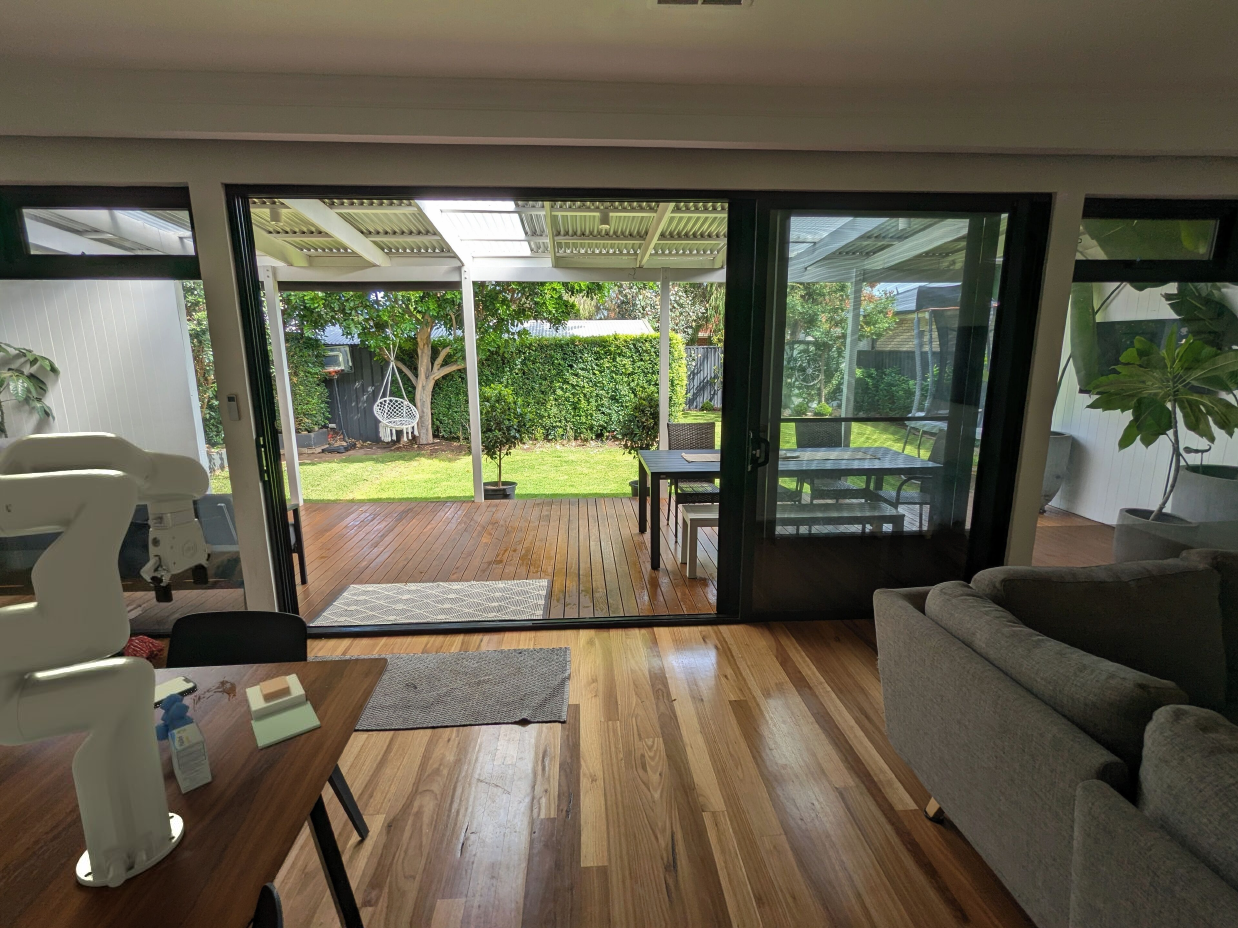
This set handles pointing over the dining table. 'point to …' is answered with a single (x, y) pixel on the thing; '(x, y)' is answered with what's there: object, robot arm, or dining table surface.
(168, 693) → the smartphone
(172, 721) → the grapes
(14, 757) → the dining table surface
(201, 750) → the medicine box
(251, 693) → the plate
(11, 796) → the dining table surface
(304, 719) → the mat
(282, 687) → the tile
